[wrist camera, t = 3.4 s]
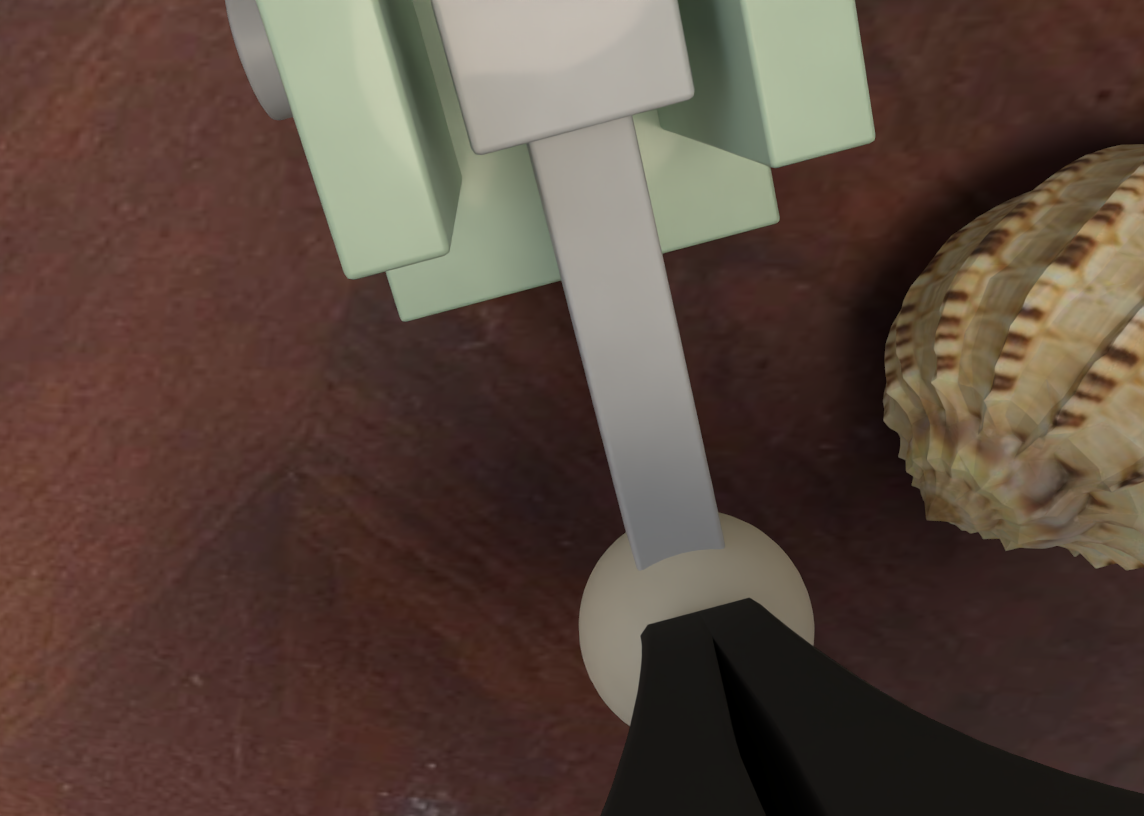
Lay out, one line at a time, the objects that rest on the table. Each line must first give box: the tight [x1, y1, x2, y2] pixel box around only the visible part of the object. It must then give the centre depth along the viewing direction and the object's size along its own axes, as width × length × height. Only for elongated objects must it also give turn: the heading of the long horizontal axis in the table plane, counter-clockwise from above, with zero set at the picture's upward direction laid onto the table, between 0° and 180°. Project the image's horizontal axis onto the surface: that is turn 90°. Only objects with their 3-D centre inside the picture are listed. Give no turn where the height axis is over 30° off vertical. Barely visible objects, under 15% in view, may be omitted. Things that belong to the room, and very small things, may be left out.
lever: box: [430, 0, 814, 726], centre depth 12 cm, size 11×3×3 cm, turn 14°
